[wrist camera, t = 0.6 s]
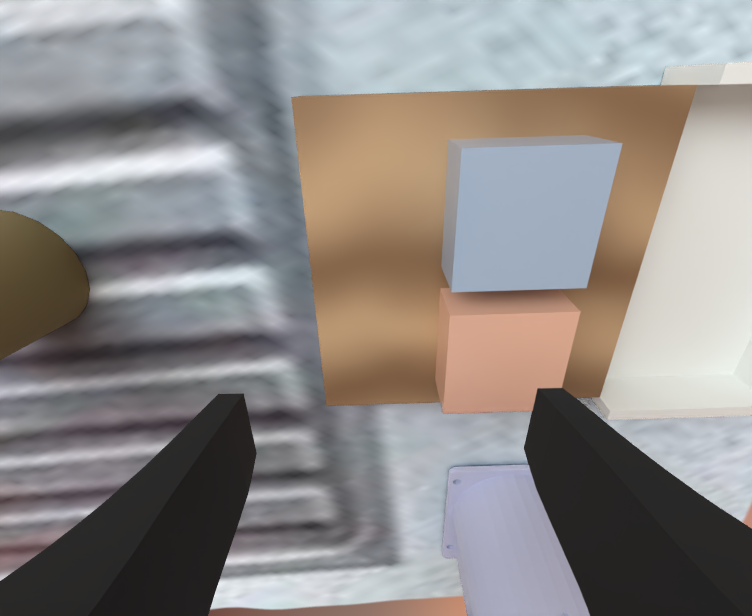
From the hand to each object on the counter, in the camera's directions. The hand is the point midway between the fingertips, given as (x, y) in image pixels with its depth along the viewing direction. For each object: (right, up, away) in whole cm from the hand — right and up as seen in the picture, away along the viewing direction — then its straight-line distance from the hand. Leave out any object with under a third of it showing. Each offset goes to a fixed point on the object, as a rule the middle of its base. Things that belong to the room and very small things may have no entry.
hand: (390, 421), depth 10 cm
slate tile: (+5, +7, +6) cm, 10 cm away
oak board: (+4, +5, +9) cm, 11 cm away
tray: (+15, +6, +9) cm, 18 cm away
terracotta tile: (+5, +2, +9) cm, 10 cm away
